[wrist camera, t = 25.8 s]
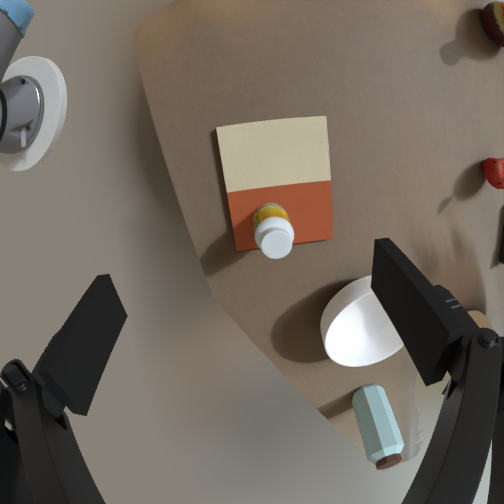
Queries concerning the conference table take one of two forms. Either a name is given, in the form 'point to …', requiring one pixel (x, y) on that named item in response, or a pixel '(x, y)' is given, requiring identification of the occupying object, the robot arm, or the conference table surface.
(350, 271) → the conference table surface
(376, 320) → the bowl
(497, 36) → the vase
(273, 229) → the supplement bottle
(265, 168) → the sorting mat
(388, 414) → the water bottle
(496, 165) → the apple
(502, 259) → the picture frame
